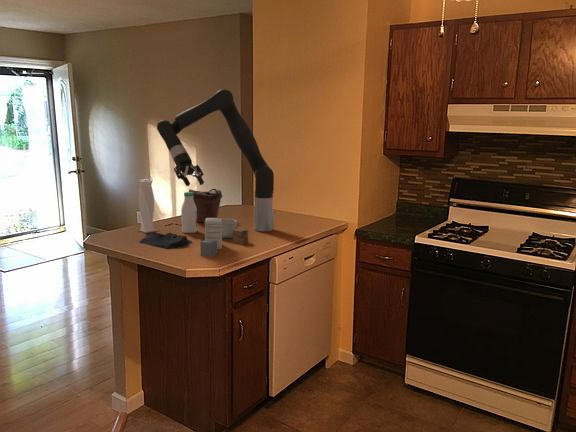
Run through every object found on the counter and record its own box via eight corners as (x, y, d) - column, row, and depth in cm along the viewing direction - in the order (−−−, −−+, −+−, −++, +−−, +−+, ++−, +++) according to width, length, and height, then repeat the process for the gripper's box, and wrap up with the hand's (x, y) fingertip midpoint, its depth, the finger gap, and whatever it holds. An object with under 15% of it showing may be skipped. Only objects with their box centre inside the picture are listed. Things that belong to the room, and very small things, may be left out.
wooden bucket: (229, 218, 283) (229, 187, 279) (206, 225, 266) (205, 192, 263) (206, 215, 292) (205, 185, 289) (181, 221, 276) (180, 189, 272)
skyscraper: (159, 231, 251) (158, 176, 245) (145, 234, 245) (143, 177, 239) (150, 228, 256) (148, 174, 251) (136, 231, 250) (134, 175, 245)
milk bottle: (193, 233, 247) (193, 194, 243) (179, 232, 249) (178, 193, 245) (199, 230, 255) (198, 191, 251) (185, 229, 256) (184, 190, 252)
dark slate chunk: (161, 237, 242) (160, 227, 241) (195, 244, 231) (194, 234, 230) (136, 243, 230) (135, 233, 229) (171, 251, 218) (170, 240, 217)
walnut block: (240, 240, 237) (240, 228, 236) (248, 242, 234) (248, 229, 233) (232, 242, 233) (232, 229, 232) (240, 244, 230) (240, 231, 229)
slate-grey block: (207, 252, 216) (207, 239, 214) (217, 254, 214) (216, 240, 212) (200, 255, 211) (200, 241, 210) (210, 257, 209) (210, 243, 208)
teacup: (240, 235, 247) (240, 219, 245) (231, 240, 237) (230, 224, 235) (215, 232, 251) (215, 217, 250) (204, 237, 241) (204, 221, 239)
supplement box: (206, 244, 228) (205, 217, 226) (222, 244, 229) (222, 217, 226) (204, 249, 221) (204, 221, 218) (221, 249, 222) (221, 221, 219)
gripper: (172, 151, 229) (188, 180, 225) (196, 151, 240) (211, 179, 236) (164, 161, 233) (179, 190, 229) (188, 161, 244) (202, 188, 240)
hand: (195, 184), depth 232 cm, fingers open, 8 cm apart
